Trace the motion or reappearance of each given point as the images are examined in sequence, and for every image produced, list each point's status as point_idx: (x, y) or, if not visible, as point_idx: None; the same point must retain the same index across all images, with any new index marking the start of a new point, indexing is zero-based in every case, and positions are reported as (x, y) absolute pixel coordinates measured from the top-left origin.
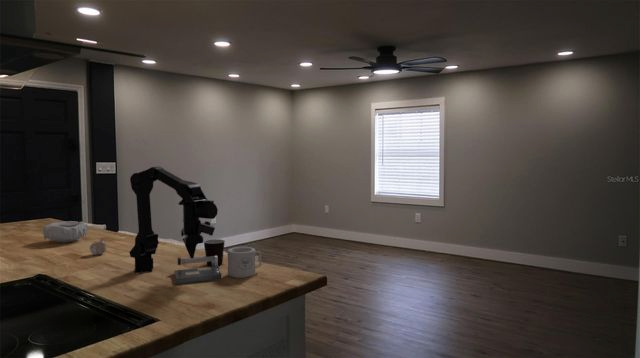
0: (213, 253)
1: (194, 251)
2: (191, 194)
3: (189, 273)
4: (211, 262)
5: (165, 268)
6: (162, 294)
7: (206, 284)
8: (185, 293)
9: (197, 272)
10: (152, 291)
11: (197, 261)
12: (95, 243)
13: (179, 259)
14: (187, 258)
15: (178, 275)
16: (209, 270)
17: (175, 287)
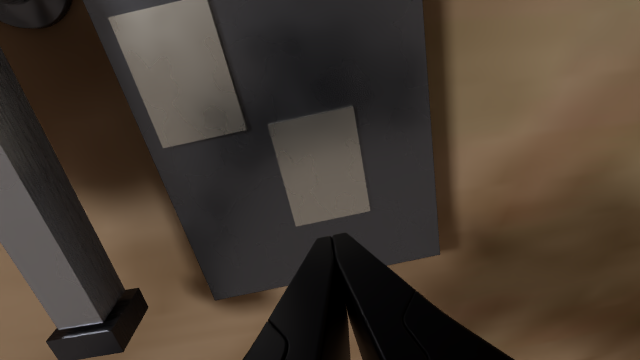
0: None
1: (401, 282)
2: None
3: (330, 191)
4: None
5: (47, 345)
6: (582, 273)
7: (498, 31)
8: (633, 161)
9: (312, 130)
10: (508, 322)
11: (52, 167)
12: None
13: (118, 336)
14: (61, 278)
15: None
16: (237, 15)
17: (484, 232)
